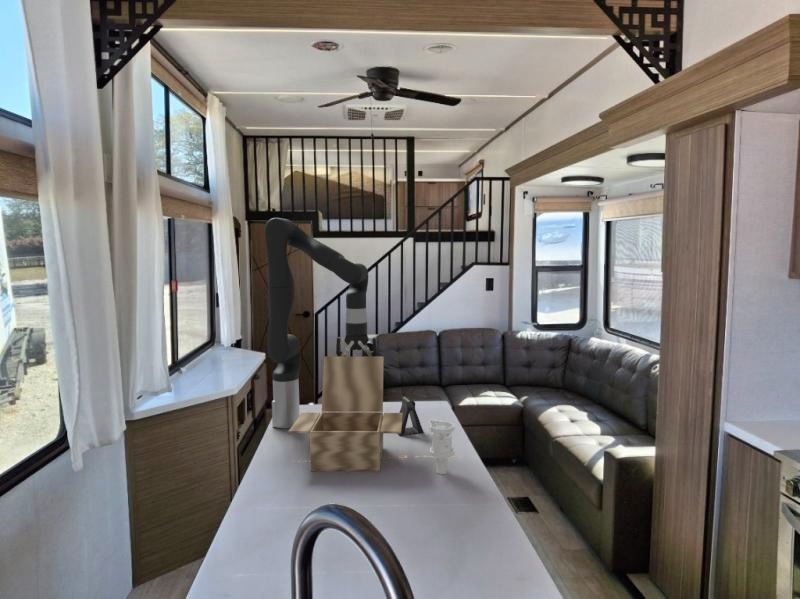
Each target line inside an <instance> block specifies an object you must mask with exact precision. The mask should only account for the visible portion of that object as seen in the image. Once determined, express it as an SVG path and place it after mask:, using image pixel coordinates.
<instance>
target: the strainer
mask: <svg viewBox="0 0 800 599" xmlns="http://www.w3.org/2000/svg"><path fill="white" fill-rule="evenodd" d="M438 426H444V427H445V428H437V427H438ZM429 431H430V432H431V433H432V441H431V442H432V444H431V447H430V448H429V455H430V456H431V457H433V458H435V459H436V473H437V474H438V473H439V474H438V475H446V474H448V459H449V458H452V457H454V456H455V449H454V448H453V447H452V444H453V443H452V442H453V440H452V439H453V438H452V436H453V435H452V433H453V432H454V431H455V424H454V423H453V422H449V421H445V420H444V421H442V420H439V419H435V418H431V419H430V423H429Z"/></svg>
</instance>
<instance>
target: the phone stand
mask: <svg viewBox="0 0 800 599" xmlns="http://www.w3.org/2000/svg"><path fill="white" fill-rule="evenodd" d="M398 413H403V415H402V428H401V433H396V434H397V435H398V436H399V437H402V436H404V435H405V436H410V435H419V434H424V430H423V426H422V424H421V421H420V419H419V415H418V413H417V410H416V402H415V401H414V400H412V398H410V397H409V396H407V395H406V396H403V397H402V398H401V406H400V410H399V412H398ZM409 418H410V421H411V425H412V427H407V423H408V419H409Z"/></svg>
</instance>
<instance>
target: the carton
mask: <svg viewBox="0 0 800 599" xmlns="http://www.w3.org/2000/svg"><path fill="white" fill-rule="evenodd" d="M299 415H300V416H299V417H298V418H297V420H296V421H295V423H294V424H293V426H292V427H291V428H289V429H288V434H309V445H310V446H309V448H310V449H309V450H310V451H309V452H310V453H309V454H310V456H309V457H310V458H309V459H310V472H359V471H367V472H369V471H371V473H372V472H377V473H379V472H380V471H381V465H382V460H383V459H382V458H383V454H384V453H383V452H384V434H397V433H401V428H402V415H403V413H399V412H322V411H321V412H300V413H299ZM381 459H382V460H381ZM367 472H366V473H367ZM369 473H370V472H369Z"/></svg>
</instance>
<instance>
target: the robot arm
mask: <svg viewBox="0 0 800 599" xmlns="http://www.w3.org/2000/svg"><path fill="white" fill-rule="evenodd" d="M264 239H265V247H266V248H265V249H266V256H267V274H268V275H267V277H268V278H267V279H268V284H267V286H268V288H267V290H268V292H267V293H268V296H267V297H268V333H267V334H268V336H267V354H268V357H269V358H270V359H271V360H272V362H274V363H276V364H277V366H276V368H275V369H274V370H273V372H272V396H273V400H272V401H271V416H272V422H271V423H272V428H278V429H290V428H291V427H292V426H293V424H294V423H295V421H296V420H297V418H298V417H299V416H300V388H299V385H300V384H299V382H300V381H299V375H300V374H299V373H300V370H301V363H302V362H301V360H302V359H301V358H302V357H301V356H302V355H301V354H302V353H301V352H302V350H301V343H300V340H299V339H298V337H296V336H295V335H294V334H291V333H290V334H288V332H289V331H288V328H289V326H288V325H289V321H290V320H289V319H290V317H291V315H292V311H293V308H294V304H295V299H296V298H295V297H296V294H295V293H296V290H295V279H294V276H293V275H294V274H293V272H292V269H291V268H290V264H289V261H288V250H287V247H288V246H290V247H293V248H295V249H298V250H299V251H301V252H303V253H305V254H306V255H307V256H308V257H309V258H310V259H311V260H312V261H313V262H314V263H317V265H320V266H321V267H323V268H325V269H327V270H328V271H330V272H332V273H334V275H336V276H337V277H338V278H339V279H341V280H342V281H344V282H345V283H347V284H349V286H348V291H347V293H346V295H345V337H341V336H338V337H337V338H336V349H335V350H336V351H335V355H337V356H339V357H347V355H346V354H347V353H348V352H349V351H350V350H351V351H355V350H356V351H361V350H363V351H364V352H365V353H366V355H367V356H376V355H377V354H378V342H377V341H378V340H377V336H373V337H369V336H368V311H367V292H368V286H369V270H368V269H367V267H366V265H364V264H363V263H354V262H352V261H350V260H349V259H346V258H345V256H344V255H343V254H342V253H340V252H339V251H337V250H335V249H333V248H331V247H330V246H328V245H326V244H324V243H322V242H320V241H319V240H317V239H316V238H313V236H311V235H310V234H308V233H307V232H305V231H304V230H303V229H301V228H300V227H299V226H298V225H297V224H295V223H294V222H292V221H291V220H290V219H287V218H281V217H273V218H270V219H269V220H268V221H267V222H266V224H265V227H264ZM369 342H370V344H371V345H372V351H371V350H370V348H369V346H368V345H367V344H368V343H369ZM343 343H345V344H346V345H347V346H346V347H345V349H344V350H341V348H342V344H343Z"/></svg>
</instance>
